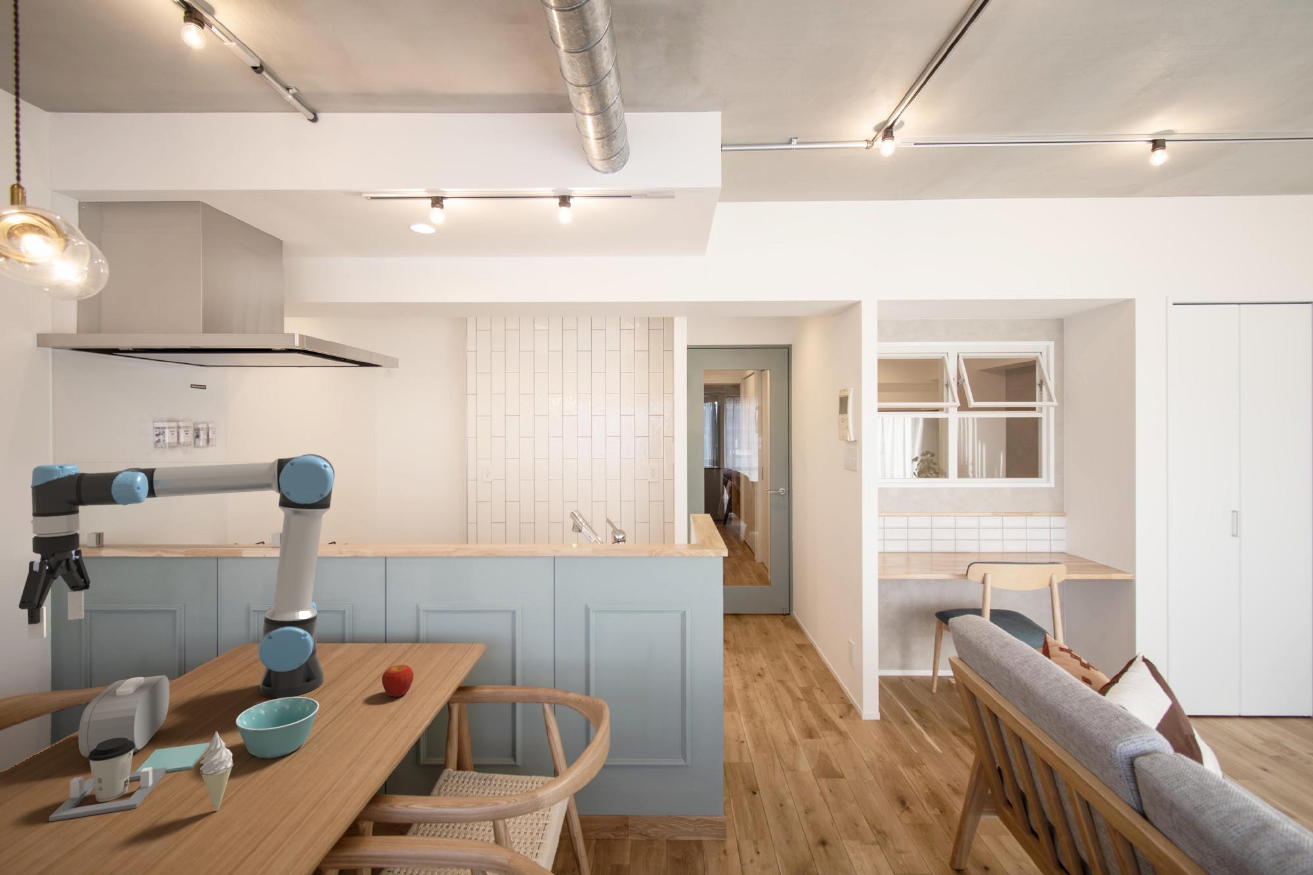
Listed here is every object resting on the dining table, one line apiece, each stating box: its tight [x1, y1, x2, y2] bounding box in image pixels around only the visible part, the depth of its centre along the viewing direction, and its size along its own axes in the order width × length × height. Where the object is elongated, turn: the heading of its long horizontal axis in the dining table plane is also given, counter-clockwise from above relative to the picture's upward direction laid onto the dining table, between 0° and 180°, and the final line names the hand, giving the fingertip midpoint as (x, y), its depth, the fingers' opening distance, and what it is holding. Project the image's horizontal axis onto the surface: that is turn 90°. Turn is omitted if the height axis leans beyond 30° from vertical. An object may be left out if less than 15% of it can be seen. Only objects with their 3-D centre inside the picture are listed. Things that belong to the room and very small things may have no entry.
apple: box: [381, 664, 415, 698], centre depth 165 cm, size 8×8×8 cm
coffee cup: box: [87, 738, 135, 803], centre depth 119 cm, size 7×7×10 cm
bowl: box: [235, 696, 320, 759], centre depth 137 cm, size 16×16×8 cm
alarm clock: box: [78, 674, 170, 758], centre depth 138 cm, size 21×10×13 cm, turn 22°
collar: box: [48, 767, 167, 822], centre depth 119 cm, size 13×13×4 cm
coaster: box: [135, 742, 210, 773], centre depth 131 cm, size 10×10×1 cm
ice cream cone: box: [199, 730, 234, 812], centre depth 114 cm, size 5×5×15 cm
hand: (57, 628), depth 137 cm, fingers open, 13 cm apart
